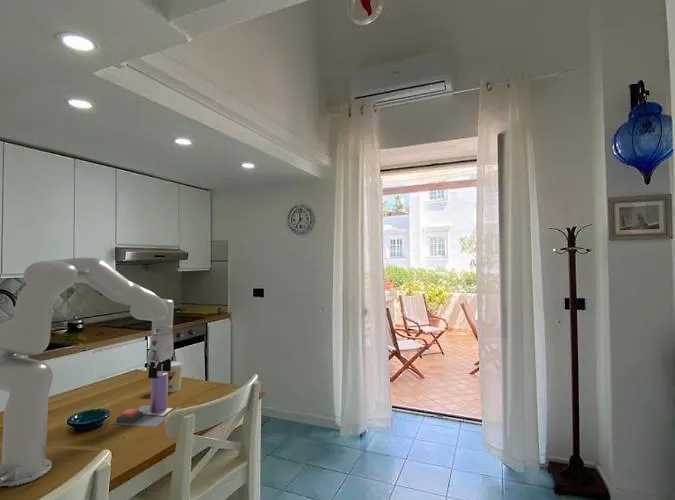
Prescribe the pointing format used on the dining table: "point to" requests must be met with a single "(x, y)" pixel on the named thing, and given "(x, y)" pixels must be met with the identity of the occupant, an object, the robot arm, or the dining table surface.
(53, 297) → the robot arm
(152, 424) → the picture board
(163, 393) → the beverage can
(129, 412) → the button
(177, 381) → the coffee cup
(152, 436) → the dining table surface
